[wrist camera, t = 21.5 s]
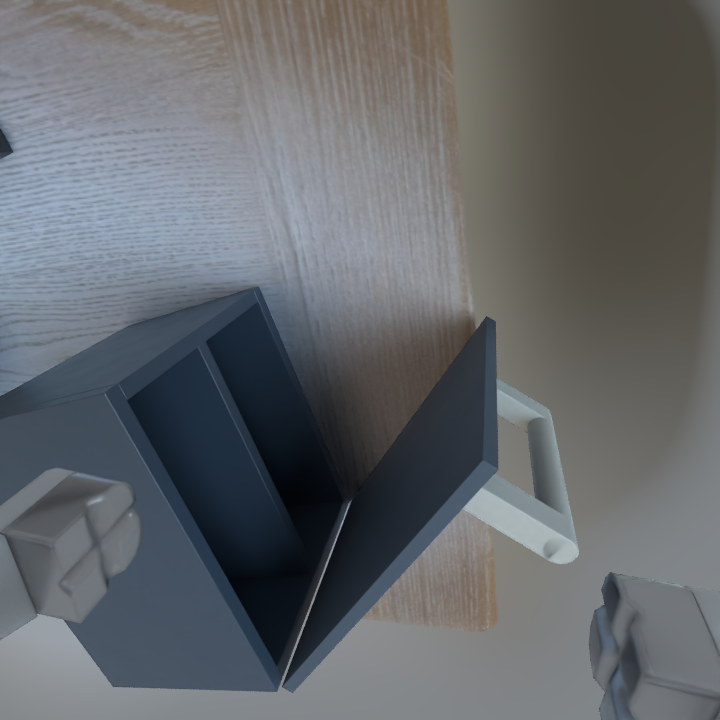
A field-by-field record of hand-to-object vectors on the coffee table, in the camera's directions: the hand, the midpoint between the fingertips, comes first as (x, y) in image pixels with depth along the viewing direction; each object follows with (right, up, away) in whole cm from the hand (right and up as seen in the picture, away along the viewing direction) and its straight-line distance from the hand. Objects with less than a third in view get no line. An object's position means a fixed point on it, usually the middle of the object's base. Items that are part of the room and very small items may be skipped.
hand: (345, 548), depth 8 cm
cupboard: (-11, -2, +37) cm, 39 cm away
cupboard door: (+7, -4, +33) cm, 34 cm away
